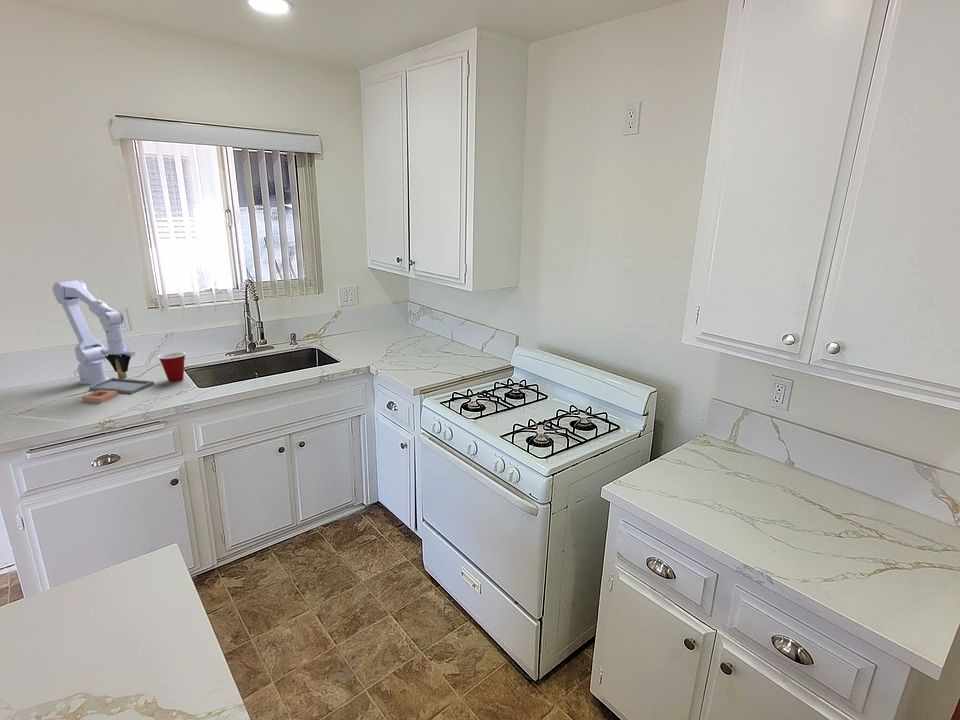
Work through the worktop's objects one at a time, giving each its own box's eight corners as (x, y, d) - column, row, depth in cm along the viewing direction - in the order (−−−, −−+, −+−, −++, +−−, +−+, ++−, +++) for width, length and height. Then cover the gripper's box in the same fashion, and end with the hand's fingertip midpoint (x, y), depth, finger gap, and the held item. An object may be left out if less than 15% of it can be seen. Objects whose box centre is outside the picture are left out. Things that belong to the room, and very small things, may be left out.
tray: (89, 390, 218) (88, 386, 217) (113, 381, 229) (112, 377, 229) (132, 395, 215) (131, 390, 214) (154, 385, 226) (153, 381, 226)
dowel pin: (116, 378, 219) (113, 360, 217) (122, 376, 222) (118, 358, 220) (123, 379, 219) (119, 361, 216) (128, 376, 222) (125, 358, 219)
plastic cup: (183, 374, 240) (179, 349, 237) (193, 379, 234) (190, 354, 230) (157, 379, 232) (153, 354, 229) (167, 385, 226) (163, 359, 222)
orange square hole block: (82, 402, 206) (81, 396, 205) (100, 395, 214) (99, 389, 213) (101, 404, 205) (99, 398, 204) (118, 396, 213) (117, 391, 212)
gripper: (91, 341, 213) (98, 372, 217) (123, 343, 211) (129, 375, 215) (106, 337, 219) (112, 367, 223) (136, 339, 217) (142, 370, 221)
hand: (121, 371), depth 220 cm, fingers closed on dowel pin, 3 cm apart
